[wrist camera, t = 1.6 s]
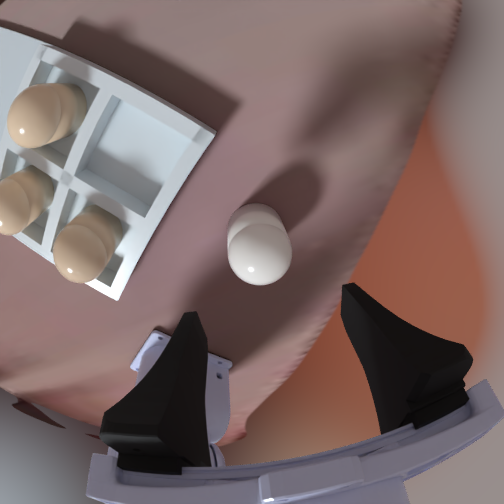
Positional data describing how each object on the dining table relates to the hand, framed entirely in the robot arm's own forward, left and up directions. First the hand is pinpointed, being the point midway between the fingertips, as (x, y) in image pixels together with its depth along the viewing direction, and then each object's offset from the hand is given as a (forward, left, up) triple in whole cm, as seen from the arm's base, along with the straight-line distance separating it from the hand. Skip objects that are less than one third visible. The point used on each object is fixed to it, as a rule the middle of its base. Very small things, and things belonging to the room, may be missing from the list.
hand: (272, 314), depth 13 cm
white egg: (0, 0, -10) cm, 10 cm away
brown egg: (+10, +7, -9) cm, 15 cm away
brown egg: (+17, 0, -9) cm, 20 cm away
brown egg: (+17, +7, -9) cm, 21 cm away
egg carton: (+22, +3, -9) cm, 24 cm away
